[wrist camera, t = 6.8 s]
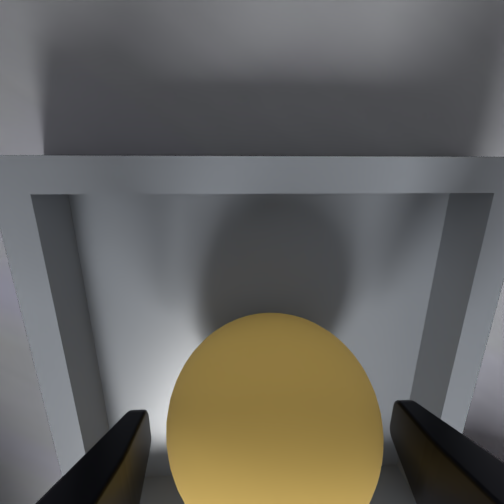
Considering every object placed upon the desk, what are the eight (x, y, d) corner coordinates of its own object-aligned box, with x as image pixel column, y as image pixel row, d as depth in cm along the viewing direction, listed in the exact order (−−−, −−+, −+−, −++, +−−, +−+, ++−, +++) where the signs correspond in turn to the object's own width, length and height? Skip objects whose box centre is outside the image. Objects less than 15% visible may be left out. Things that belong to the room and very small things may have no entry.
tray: (469, 156, 9) (537, 156, 7) (405, 464, 12) (438, 523, 10) (42, 155, 8) (-19, 155, 6) (105, 479, 12) (79, 544, 10)
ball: (346, 280, 9) (466, 413, 4) (332, 412, 11) (411, 616, 6) (179, 283, 9) (117, 427, 4) (189, 418, 10) (151, 637, 6)
